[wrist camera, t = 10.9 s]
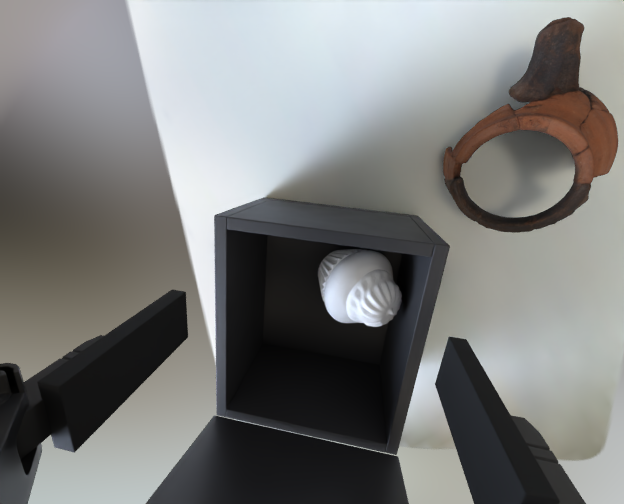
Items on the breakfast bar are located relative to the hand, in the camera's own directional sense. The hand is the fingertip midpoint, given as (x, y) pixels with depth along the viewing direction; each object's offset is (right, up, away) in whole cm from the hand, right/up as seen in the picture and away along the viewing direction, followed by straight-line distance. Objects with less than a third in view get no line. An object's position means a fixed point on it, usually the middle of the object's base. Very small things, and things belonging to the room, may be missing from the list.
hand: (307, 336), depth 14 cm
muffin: (+2, +3, +10) cm, 11 cm away
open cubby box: (+2, +1, +13) cm, 13 cm away
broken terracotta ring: (+15, +13, +7) cm, 21 cm away
